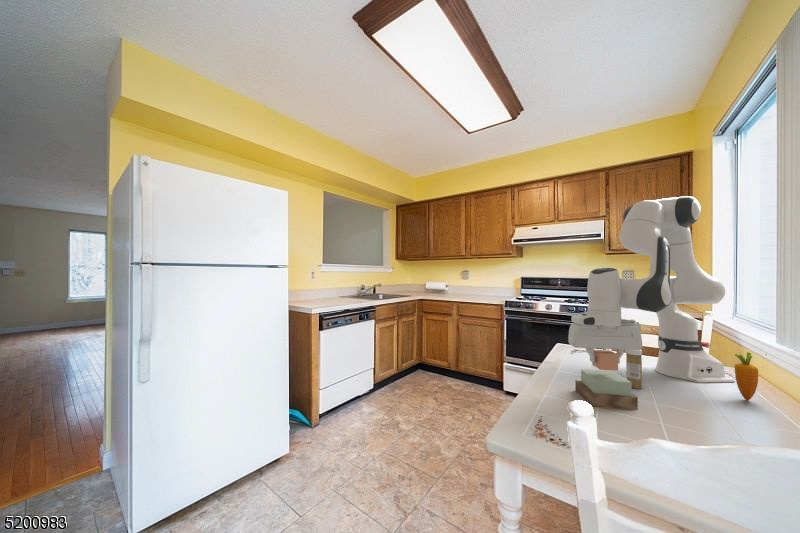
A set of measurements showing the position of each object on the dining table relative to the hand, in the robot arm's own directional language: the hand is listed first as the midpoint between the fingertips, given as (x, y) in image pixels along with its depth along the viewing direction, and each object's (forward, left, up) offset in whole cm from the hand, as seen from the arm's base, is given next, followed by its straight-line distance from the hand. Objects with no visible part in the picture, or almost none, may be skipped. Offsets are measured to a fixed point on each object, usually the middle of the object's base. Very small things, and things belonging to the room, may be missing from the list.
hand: (604, 362), depth 93 cm
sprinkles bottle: (-16, -13, -12) cm, 24 cm away
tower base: (0, 0, -12) cm, 12 cm away
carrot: (-44, -6, -12) cm, 46 cm away
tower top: (0, 0, -8) cm, 8 cm away
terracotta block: (0, 0, -2) cm, 2 cm away
